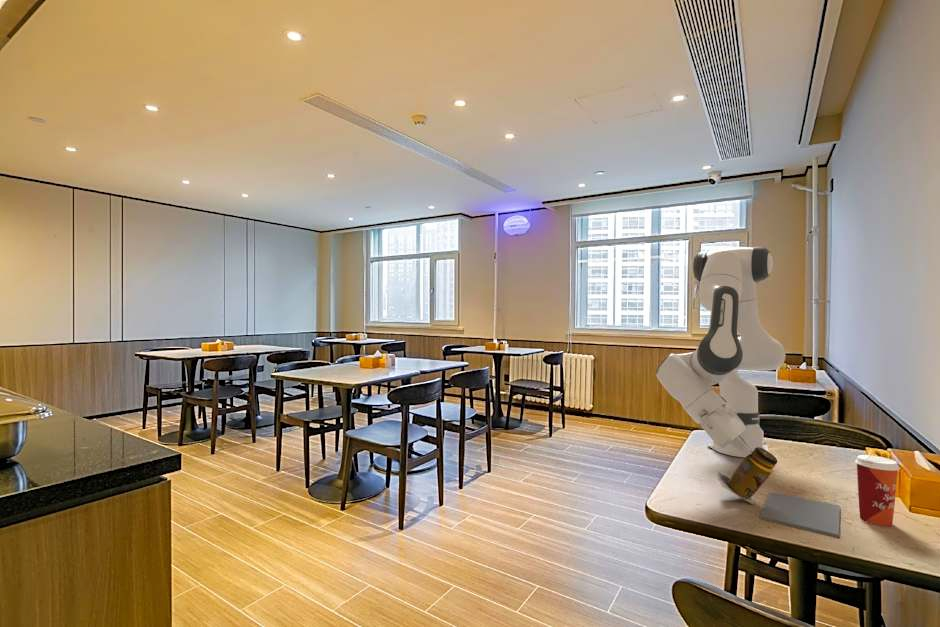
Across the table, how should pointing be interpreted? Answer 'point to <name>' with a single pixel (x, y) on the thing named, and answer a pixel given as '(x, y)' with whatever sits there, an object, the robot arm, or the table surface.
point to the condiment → (749, 474)
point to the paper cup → (876, 489)
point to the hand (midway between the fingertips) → (750, 453)
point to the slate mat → (802, 513)
